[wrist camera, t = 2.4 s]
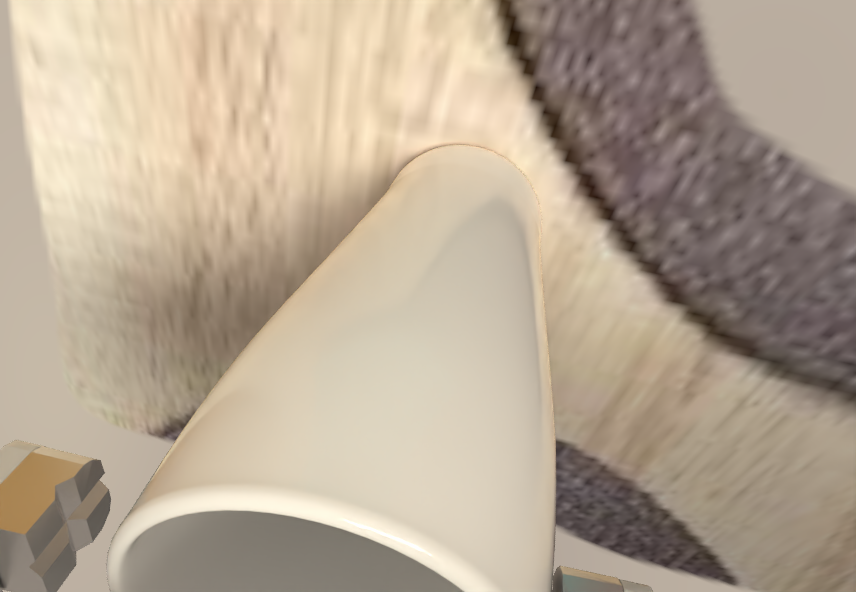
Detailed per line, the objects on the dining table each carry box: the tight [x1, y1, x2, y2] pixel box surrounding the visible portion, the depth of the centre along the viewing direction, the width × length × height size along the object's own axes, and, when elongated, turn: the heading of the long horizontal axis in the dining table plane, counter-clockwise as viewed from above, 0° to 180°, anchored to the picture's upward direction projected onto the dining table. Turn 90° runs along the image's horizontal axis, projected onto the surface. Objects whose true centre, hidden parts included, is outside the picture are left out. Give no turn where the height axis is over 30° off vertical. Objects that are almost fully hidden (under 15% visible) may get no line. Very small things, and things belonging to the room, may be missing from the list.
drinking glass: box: [106, 145, 556, 592], centre depth 15 cm, size 7×7×15 cm
